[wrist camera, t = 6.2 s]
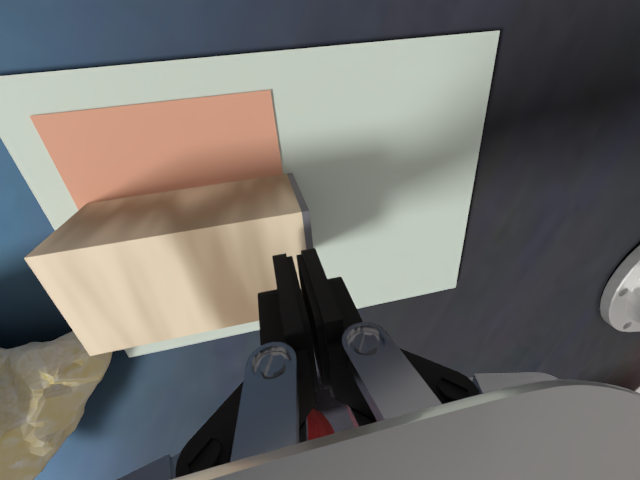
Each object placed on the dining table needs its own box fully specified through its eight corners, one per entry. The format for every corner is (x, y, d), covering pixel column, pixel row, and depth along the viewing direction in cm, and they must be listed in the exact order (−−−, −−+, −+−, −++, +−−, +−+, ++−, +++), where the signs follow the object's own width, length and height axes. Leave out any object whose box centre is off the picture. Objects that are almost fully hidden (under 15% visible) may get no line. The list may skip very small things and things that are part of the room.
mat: (493, 31, 16) (501, 30, 15) (451, 283, 24) (456, 288, 23) (-25, 78, 12) (-36, 79, 12) (131, 351, 20) (128, 359, 20)
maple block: (309, 210, 12) (23, 258, 11) (320, 307, 15) (90, 356, 13) (292, 172, 16) (86, 203, 15) (302, 253, 19) (127, 285, 17)
